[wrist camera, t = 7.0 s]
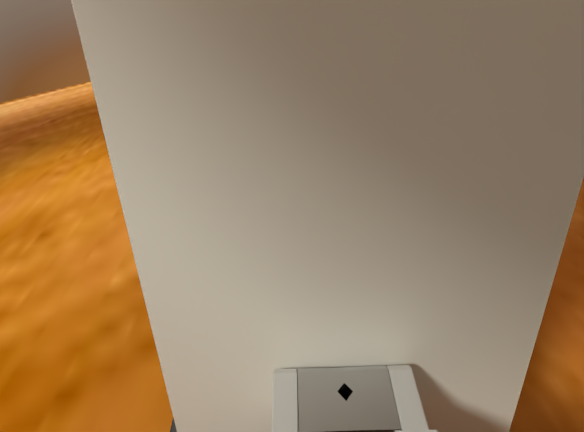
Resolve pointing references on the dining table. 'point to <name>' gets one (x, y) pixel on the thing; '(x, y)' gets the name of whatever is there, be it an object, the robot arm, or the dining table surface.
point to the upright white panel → (342, 189)
